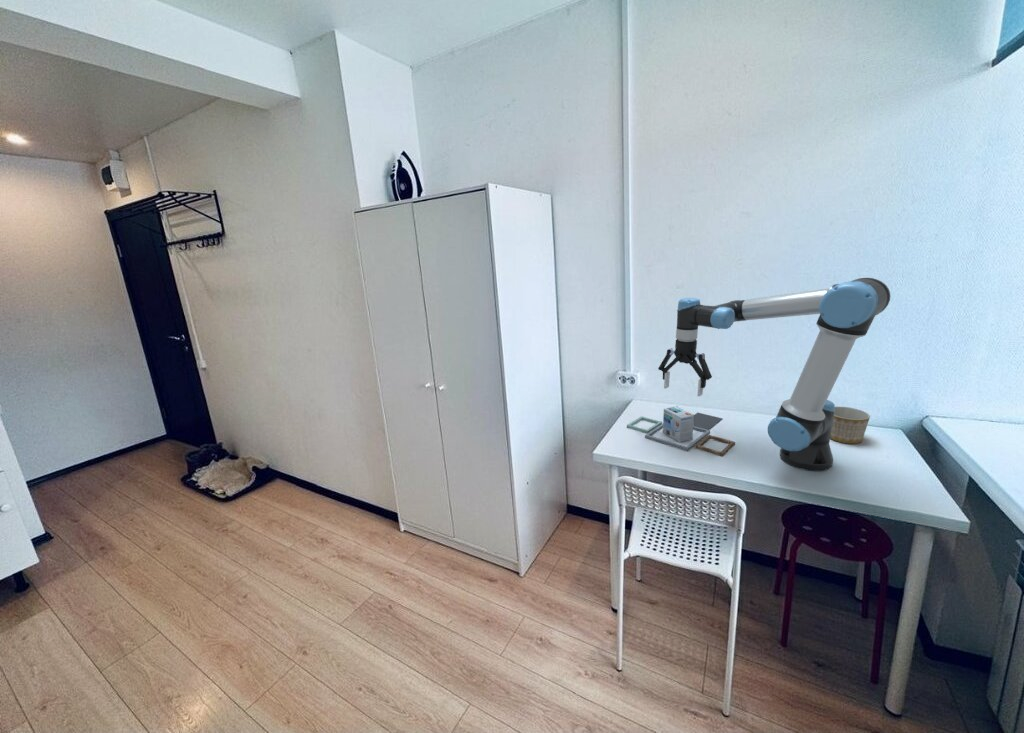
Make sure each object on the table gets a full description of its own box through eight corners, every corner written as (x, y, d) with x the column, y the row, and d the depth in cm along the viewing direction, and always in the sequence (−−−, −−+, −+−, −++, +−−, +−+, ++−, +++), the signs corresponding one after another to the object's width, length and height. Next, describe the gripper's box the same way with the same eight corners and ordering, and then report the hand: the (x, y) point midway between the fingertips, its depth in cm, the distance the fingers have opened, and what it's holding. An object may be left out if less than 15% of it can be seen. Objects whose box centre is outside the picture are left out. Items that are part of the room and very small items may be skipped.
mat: (722, 419, 179) (722, 418, 179) (708, 430, 170) (708, 430, 169) (697, 413, 187) (697, 412, 187) (682, 424, 178) (682, 423, 177)
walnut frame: (735, 444, 157) (735, 441, 157) (722, 456, 149) (722, 453, 149) (708, 437, 164) (708, 434, 164) (695, 448, 157) (695, 445, 156)
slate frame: (710, 433, 168) (710, 430, 167) (687, 451, 155) (687, 448, 155) (668, 421, 181) (668, 419, 180) (644, 437, 168) (644, 435, 168)
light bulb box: (662, 432, 172) (662, 408, 169) (675, 429, 174) (676, 405, 171) (679, 442, 162) (680, 417, 159) (693, 439, 164) (694, 414, 161)
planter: (858, 449, 147) (863, 422, 145) (817, 438, 157) (821, 413, 154) (869, 438, 154) (874, 412, 152) (829, 427, 164) (833, 403, 161)
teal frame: (661, 424, 179) (662, 421, 178) (647, 433, 171) (647, 431, 171) (641, 418, 186) (641, 416, 186) (626, 427, 178) (626, 424, 178)
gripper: (724, 341, 148) (719, 395, 155) (660, 333, 166) (658, 382, 173) (715, 346, 144) (710, 401, 150) (651, 336, 162) (648, 386, 168)
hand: (682, 391), depth 161 cm, fingers open, 13 cm apart
